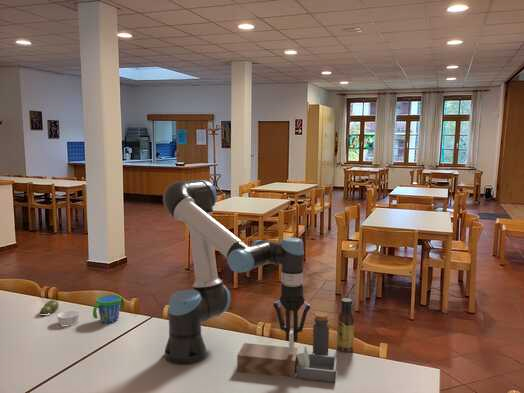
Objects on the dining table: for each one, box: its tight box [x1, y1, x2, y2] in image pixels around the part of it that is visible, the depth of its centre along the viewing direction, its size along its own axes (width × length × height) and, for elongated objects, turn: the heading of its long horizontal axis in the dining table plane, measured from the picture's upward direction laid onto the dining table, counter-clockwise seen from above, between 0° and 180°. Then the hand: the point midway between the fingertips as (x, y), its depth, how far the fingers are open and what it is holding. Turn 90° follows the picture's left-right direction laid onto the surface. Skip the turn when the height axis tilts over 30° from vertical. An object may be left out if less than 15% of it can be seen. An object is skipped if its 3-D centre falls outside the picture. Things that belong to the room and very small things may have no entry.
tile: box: [297, 345, 310, 368], centre depth 158 cm, size 6×6×2 cm
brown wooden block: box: [236, 342, 298, 379], centre depth 161 cm, size 20×10×6 cm, turn 78°
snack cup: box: [92, 294, 126, 323], centre depth 203 cm, size 16×10×10 cm
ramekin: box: [56, 309, 80, 325], centre depth 200 cm, size 9×9×4 cm
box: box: [295, 353, 338, 384], centre depth 158 cm, size 13×11×4 cm
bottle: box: [312, 311, 330, 356], centre depth 173 cm, size 6×6×15 cm
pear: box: [39, 299, 60, 315], centre depth 212 cm, size 6×5×10 cm
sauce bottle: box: [336, 297, 355, 353], centre depth 176 cm, size 6×6×20 cm
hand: (291, 349), depth 159 cm, fingers closed
